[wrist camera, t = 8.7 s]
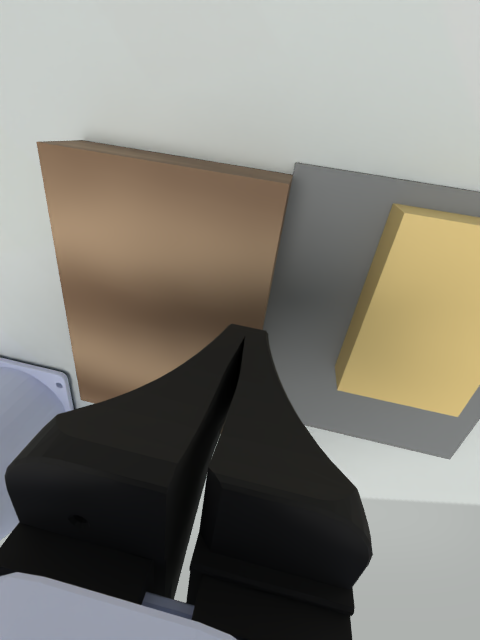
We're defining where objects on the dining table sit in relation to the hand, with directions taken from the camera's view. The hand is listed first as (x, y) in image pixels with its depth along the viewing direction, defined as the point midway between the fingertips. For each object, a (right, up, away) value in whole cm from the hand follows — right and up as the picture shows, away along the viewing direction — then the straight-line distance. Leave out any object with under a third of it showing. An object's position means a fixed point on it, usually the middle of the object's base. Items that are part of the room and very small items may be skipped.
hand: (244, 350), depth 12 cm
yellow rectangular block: (+8, +1, +3) cm, 9 cm away
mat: (+8, 0, +6) cm, 10 cm away
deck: (-4, +3, +7) cm, 8 cm away
